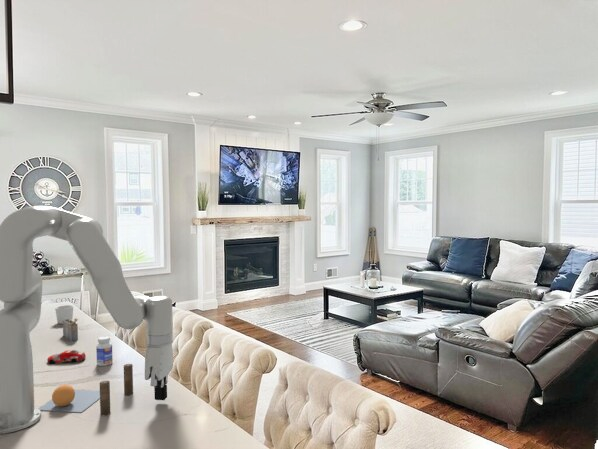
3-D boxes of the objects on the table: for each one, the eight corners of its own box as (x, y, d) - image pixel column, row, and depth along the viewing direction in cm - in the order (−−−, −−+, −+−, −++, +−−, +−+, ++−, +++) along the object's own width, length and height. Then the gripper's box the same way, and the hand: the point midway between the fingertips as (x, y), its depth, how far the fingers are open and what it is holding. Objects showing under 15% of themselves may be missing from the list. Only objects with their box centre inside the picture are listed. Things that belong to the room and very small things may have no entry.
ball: (43, 399, 125) (58, 414, 125) (58, 385, 125) (73, 399, 125) (54, 391, 131) (68, 405, 131) (68, 377, 131) (82, 391, 131)
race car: (44, 365, 162) (44, 354, 162) (51, 360, 167) (51, 349, 167) (81, 363, 163) (81, 353, 163) (87, 358, 168) (86, 348, 168)
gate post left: (107, 415, 122) (106, 384, 122) (98, 415, 122) (97, 384, 122) (112, 411, 125) (111, 380, 124) (103, 411, 125) (102, 380, 124)
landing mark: (81, 412, 124) (81, 412, 124) (36, 410, 125) (36, 409, 125) (108, 391, 138) (108, 391, 138) (67, 389, 139) (67, 389, 139)
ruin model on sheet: (79, 340, 191) (78, 318, 191) (71, 342, 189) (70, 320, 189) (70, 335, 199) (69, 314, 199) (63, 336, 197) (62, 315, 197)
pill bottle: (106, 366, 159) (105, 340, 159) (93, 365, 160) (92, 339, 160) (115, 361, 164) (115, 336, 164) (103, 360, 165) (102, 335, 165)
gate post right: (130, 395, 135) (129, 366, 134) (122, 395, 135) (121, 366, 135) (134, 391, 138) (134, 363, 137) (126, 391, 138) (126, 363, 137)
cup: (59, 320, 224) (58, 304, 223) (76, 318, 226) (75, 303, 226) (54, 325, 214) (53, 309, 213) (72, 324, 216) (71, 308, 216)
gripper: (158, 330, 137) (159, 387, 137) (135, 346, 122) (136, 410, 123) (181, 331, 136) (182, 388, 137) (160, 347, 121) (162, 411, 122)
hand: (160, 398), depth 130 cm, fingers closed
